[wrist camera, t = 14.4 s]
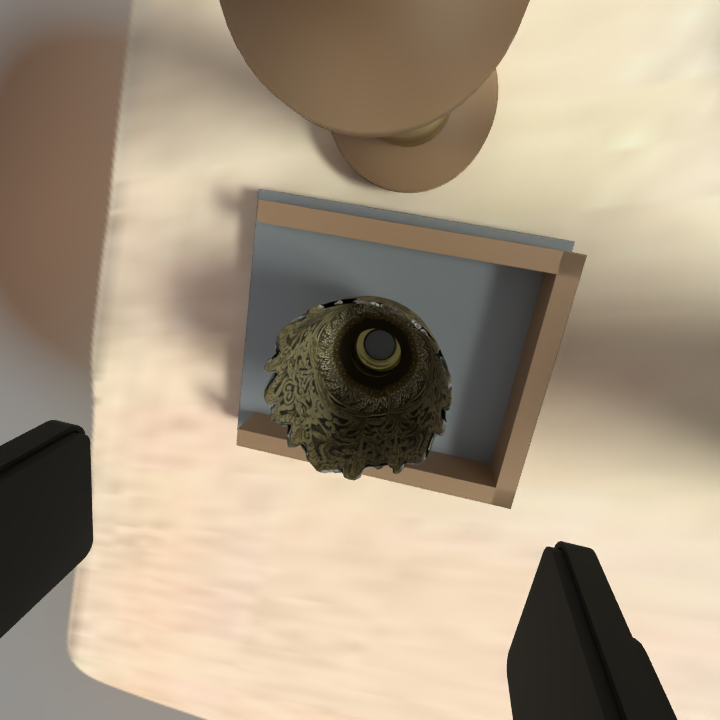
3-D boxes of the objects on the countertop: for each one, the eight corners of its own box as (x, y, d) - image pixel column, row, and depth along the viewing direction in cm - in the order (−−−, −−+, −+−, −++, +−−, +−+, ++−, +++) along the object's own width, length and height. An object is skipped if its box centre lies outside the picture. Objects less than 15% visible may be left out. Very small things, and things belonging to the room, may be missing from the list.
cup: (325, 413, 27) (281, 486, 20) (302, 286, 25) (243, 314, 18) (456, 402, 26) (462, 476, 18) (441, 266, 24) (441, 288, 16)
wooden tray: (268, 190, 26) (239, 184, 22) (566, 240, 24) (590, 243, 20) (247, 420, 30) (218, 449, 26) (499, 477, 28) (508, 516, 24)
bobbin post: (346, 6, 23) (202, -325, 9) (513, 25, 22) (633, -308, 8) (323, 180, 25) (183, 127, 11) (473, 204, 24) (514, 179, 11)
